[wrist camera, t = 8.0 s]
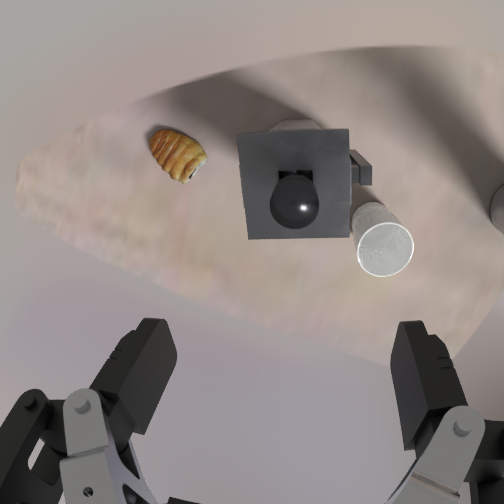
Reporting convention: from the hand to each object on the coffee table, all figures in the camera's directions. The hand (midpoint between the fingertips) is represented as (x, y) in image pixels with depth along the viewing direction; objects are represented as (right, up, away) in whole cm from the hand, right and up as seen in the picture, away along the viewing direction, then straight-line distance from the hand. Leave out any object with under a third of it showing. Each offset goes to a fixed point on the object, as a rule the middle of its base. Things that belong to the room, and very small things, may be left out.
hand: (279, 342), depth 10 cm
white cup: (+18, +8, +36) cm, 41 cm away
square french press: (+7, +17, +33) cm, 38 cm away
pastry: (-12, +18, +37) cm, 43 cm away
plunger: (+5, +13, +26) cm, 29 cm away
